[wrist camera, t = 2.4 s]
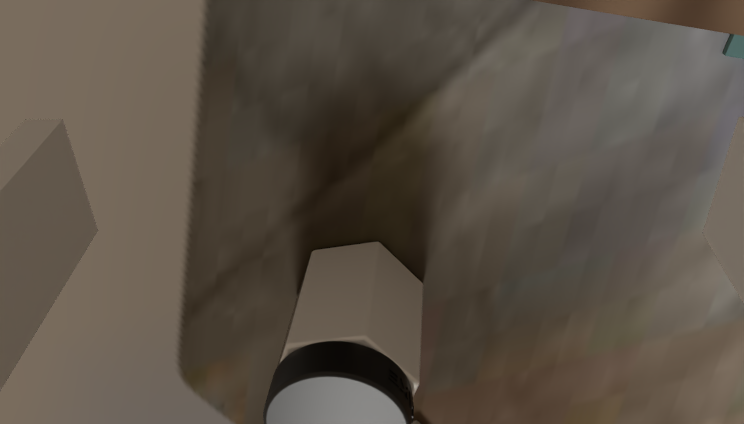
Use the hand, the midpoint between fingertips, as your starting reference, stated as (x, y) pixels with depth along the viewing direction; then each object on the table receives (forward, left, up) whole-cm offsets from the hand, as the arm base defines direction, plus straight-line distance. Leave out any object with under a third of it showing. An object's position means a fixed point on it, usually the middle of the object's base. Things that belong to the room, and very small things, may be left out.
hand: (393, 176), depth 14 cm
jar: (0, +23, -25) cm, 34 cm away
